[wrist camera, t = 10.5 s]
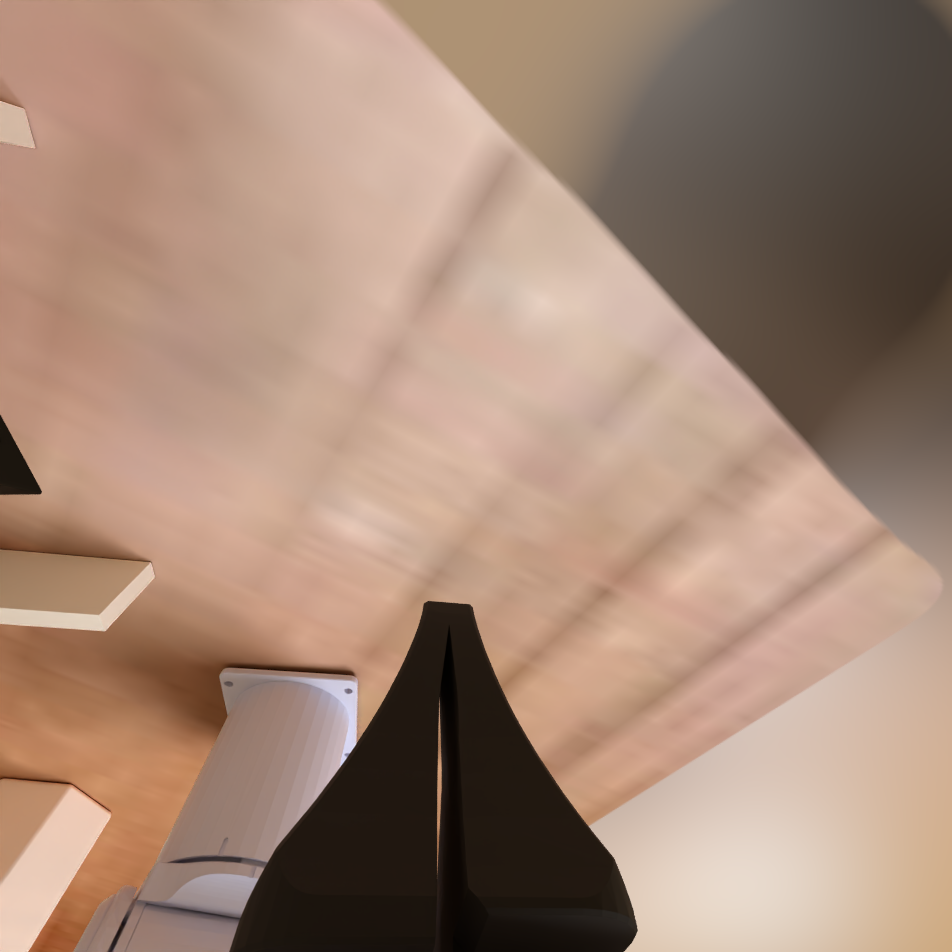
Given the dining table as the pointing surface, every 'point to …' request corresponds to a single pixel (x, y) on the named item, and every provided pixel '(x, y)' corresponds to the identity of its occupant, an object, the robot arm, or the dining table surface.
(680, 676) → the dining table surface
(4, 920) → the jar
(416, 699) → the robot arm
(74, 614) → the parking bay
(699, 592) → the dining table surface
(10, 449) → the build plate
